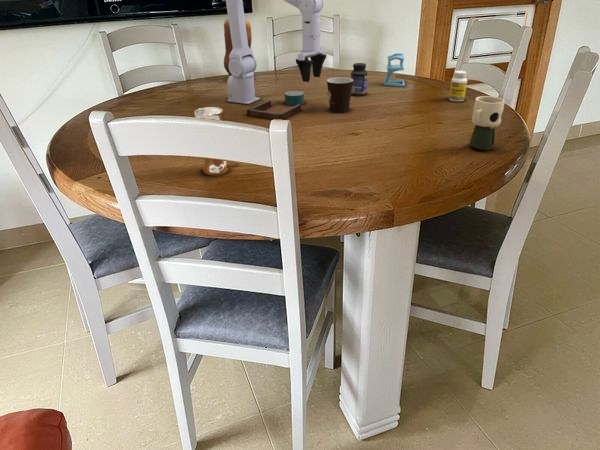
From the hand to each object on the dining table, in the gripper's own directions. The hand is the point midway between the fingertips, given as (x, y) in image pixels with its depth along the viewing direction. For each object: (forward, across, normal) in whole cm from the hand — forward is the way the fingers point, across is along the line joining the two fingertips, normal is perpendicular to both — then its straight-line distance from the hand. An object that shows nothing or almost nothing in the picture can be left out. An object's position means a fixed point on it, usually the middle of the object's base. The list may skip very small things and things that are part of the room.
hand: (311, 79), depth 154 cm
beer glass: (+10, -58, -4) cm, 59 cm away
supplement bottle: (+10, +32, -42) cm, 54 cm away
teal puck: (+10, +4, +9) cm, 14 cm away
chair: (+10, +45, -14) cm, 48 cm away
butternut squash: (+10, +26, +49) cm, 57 cm away
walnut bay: (+10, -9, +9) cm, 16 cm away
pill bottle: (+10, +25, -7) cm, 28 cm away
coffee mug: (+10, +4, -9) cm, 14 cm away
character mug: (+10, -14, -59) cm, 61 cm away
